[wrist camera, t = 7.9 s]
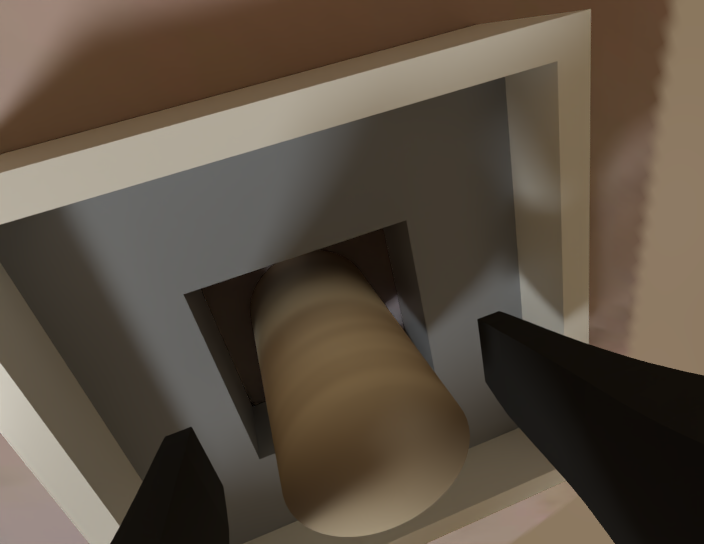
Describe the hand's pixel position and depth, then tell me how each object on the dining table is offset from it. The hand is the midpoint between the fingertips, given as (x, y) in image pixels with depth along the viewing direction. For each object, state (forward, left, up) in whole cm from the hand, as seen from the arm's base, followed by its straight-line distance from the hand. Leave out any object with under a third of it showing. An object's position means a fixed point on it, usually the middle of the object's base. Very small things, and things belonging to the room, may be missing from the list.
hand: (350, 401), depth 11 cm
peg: (0, 0, -5) cm, 5 cm away
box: (0, 0, -5) cm, 5 cm away
